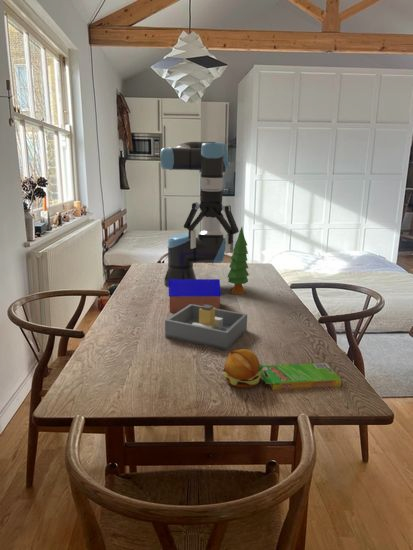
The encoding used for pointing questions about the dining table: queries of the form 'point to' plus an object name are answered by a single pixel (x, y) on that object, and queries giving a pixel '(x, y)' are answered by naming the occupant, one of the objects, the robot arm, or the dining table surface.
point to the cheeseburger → (242, 369)
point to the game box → (300, 376)
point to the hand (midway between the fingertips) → (210, 250)
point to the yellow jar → (207, 315)
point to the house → (194, 293)
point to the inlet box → (206, 327)
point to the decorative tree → (239, 265)
